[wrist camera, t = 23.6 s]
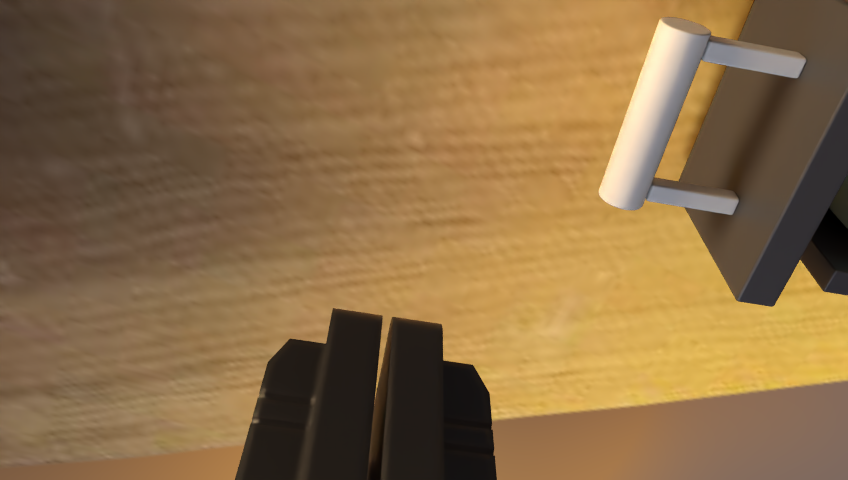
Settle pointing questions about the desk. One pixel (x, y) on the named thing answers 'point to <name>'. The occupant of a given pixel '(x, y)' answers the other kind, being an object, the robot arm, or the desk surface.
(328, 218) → the desk surface
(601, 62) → the desk surface
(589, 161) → the desk surface
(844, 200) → the block
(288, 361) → the robot arm
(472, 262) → the desk surface
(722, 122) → the drawer
